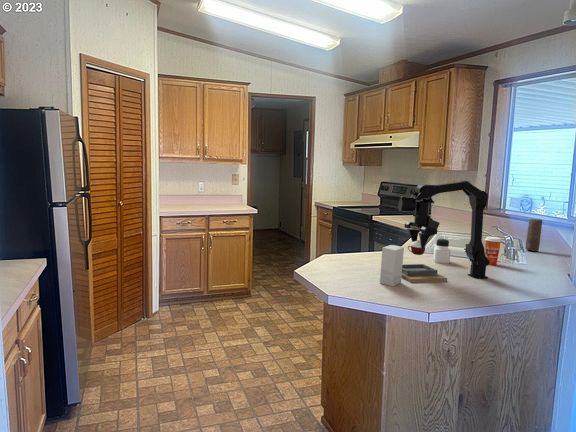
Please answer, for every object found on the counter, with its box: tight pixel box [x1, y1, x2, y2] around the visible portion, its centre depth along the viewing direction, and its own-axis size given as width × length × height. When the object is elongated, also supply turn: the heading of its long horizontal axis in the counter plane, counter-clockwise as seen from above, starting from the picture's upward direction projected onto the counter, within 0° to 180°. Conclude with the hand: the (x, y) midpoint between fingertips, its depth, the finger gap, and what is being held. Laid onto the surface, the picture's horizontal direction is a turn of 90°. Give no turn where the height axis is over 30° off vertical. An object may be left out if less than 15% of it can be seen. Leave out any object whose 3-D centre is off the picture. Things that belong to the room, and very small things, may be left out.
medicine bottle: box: [432, 238, 451, 265], centre depth 228 cm, size 7×7×12 cm
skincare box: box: [379, 244, 405, 287], centre depth 182 cm, size 8×7×16 cm
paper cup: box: [484, 236, 502, 266], centre depth 227 cm, size 8×8×14 cm
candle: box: [524, 218, 543, 252], centre depth 268 cm, size 8×7×20 cm
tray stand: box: [401, 263, 448, 283], centre depth 198 cm, size 22×18×4 cm
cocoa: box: [407, 239, 427, 256], centre depth 197 cm, size 10×6×12 cm, turn 54°
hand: (418, 246), depth 197 cm, fingers closed on cocoa, 7 cm apart
